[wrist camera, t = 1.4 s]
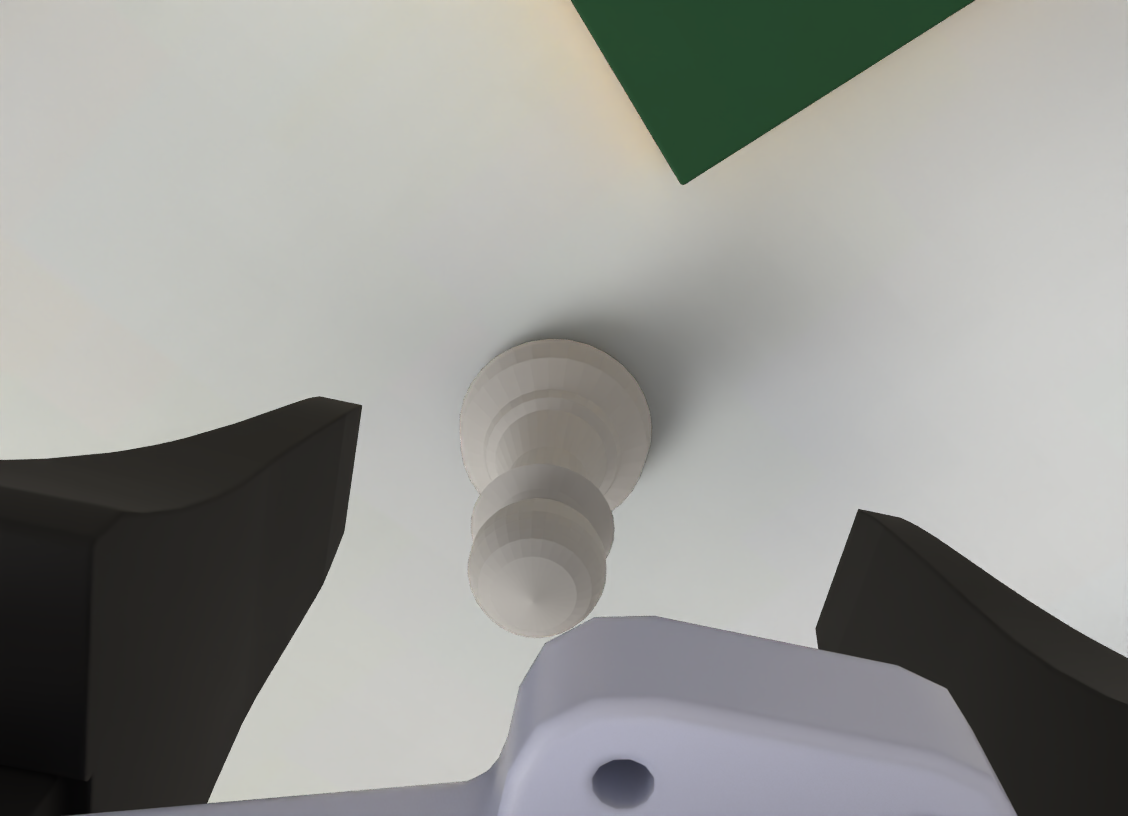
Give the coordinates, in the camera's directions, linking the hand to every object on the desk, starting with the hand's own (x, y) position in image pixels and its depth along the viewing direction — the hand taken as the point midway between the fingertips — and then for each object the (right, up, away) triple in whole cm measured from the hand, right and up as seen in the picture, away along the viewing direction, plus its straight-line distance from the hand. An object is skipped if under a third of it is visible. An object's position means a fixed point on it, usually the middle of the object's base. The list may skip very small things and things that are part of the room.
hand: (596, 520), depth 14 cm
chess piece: (-1, +1, +10) cm, 11 cm away
